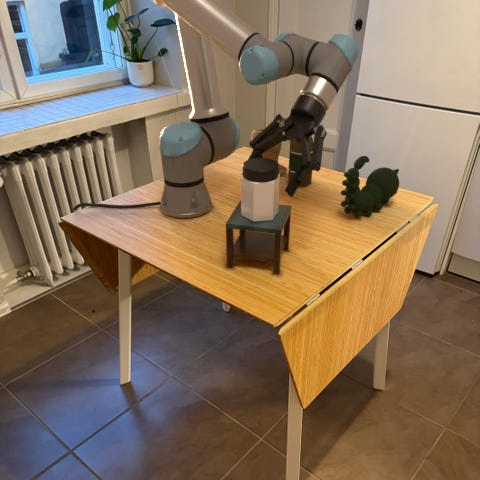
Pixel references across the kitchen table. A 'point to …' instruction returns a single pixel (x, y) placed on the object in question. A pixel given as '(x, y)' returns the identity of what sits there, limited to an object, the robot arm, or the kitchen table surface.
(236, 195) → the kitchen table surface
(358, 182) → the toy figurine
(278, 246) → the stand
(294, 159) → the beer bottle
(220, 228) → the kitchen table surface
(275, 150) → the tan piece
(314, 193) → the kitchen table surface
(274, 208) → the jar
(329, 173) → the kitchen table surface
